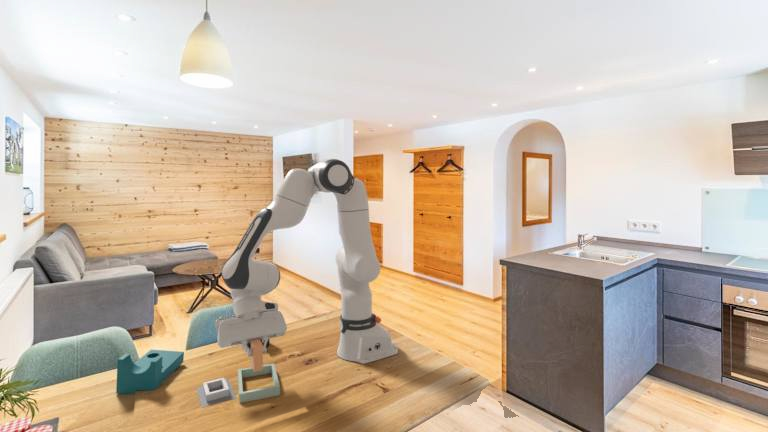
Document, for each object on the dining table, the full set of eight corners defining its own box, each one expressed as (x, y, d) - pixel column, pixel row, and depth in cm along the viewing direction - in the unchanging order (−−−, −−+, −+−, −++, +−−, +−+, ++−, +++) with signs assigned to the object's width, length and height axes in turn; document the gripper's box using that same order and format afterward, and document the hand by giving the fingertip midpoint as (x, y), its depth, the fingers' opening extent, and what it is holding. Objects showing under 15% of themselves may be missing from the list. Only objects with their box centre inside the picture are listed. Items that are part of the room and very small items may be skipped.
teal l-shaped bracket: (154, 395, 112) (155, 361, 111) (116, 393, 111) (117, 359, 110) (183, 366, 130) (184, 336, 129) (150, 363, 129) (151, 334, 128)
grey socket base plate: (228, 382, 118) (228, 372, 118) (236, 401, 108) (236, 391, 108) (196, 390, 114) (196, 380, 113) (201, 411, 104) (201, 400, 103)
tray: (274, 373, 124) (274, 363, 124) (280, 398, 110) (279, 386, 110) (238, 380, 120) (237, 369, 119) (239, 406, 106) (239, 394, 106)
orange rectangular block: (259, 364, 117) (259, 339, 116) (262, 369, 113) (262, 343, 113) (250, 366, 115) (250, 340, 115) (254, 371, 112) (253, 345, 111)
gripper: (214, 313, 113) (220, 358, 106) (282, 302, 124) (292, 342, 117) (212, 323, 117) (218, 366, 110) (278, 312, 128) (287, 351, 121)
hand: (257, 354), depth 113 cm, fingers closed on orange rectangular block, 2 cm apart
